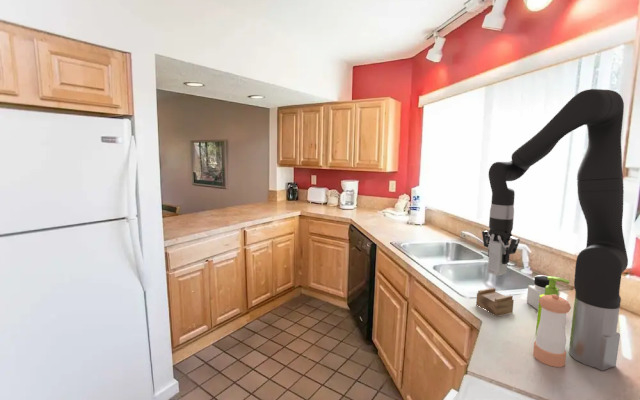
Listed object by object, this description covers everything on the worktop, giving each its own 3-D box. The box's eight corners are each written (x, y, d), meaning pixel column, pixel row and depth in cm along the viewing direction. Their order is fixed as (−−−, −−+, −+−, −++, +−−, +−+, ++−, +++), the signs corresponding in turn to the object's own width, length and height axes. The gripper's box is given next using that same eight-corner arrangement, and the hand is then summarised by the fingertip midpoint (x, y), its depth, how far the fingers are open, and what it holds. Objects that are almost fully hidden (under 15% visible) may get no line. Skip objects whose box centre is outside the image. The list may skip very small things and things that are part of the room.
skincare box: (498, 276, 109) (501, 244, 108) (486, 272, 113) (489, 241, 112) (507, 272, 113) (510, 241, 111) (495, 269, 117) (497, 238, 115)
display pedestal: (512, 312, 112) (513, 296, 111) (496, 316, 109) (497, 300, 109) (491, 302, 120) (492, 287, 120) (476, 305, 118) (477, 290, 117)
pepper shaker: (534, 347, 91) (540, 287, 89) (565, 357, 87) (572, 294, 84) (531, 359, 86) (538, 295, 83) (564, 370, 81) (572, 303, 78)
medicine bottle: (558, 311, 113) (561, 280, 112) (538, 311, 113) (541, 280, 112) (544, 302, 120) (547, 273, 119) (526, 302, 120) (528, 273, 119)
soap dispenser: (563, 345, 92) (570, 283, 89) (535, 337, 96) (541, 277, 93) (562, 337, 97) (569, 277, 94) (536, 329, 101) (541, 272, 98)
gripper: (527, 219, 105) (523, 266, 107) (491, 212, 118) (488, 254, 120) (512, 220, 102) (508, 269, 104) (477, 214, 116) (474, 256, 118)
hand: (497, 261), depth 112 cm, fingers closed on skincare box, 5 cm apart
